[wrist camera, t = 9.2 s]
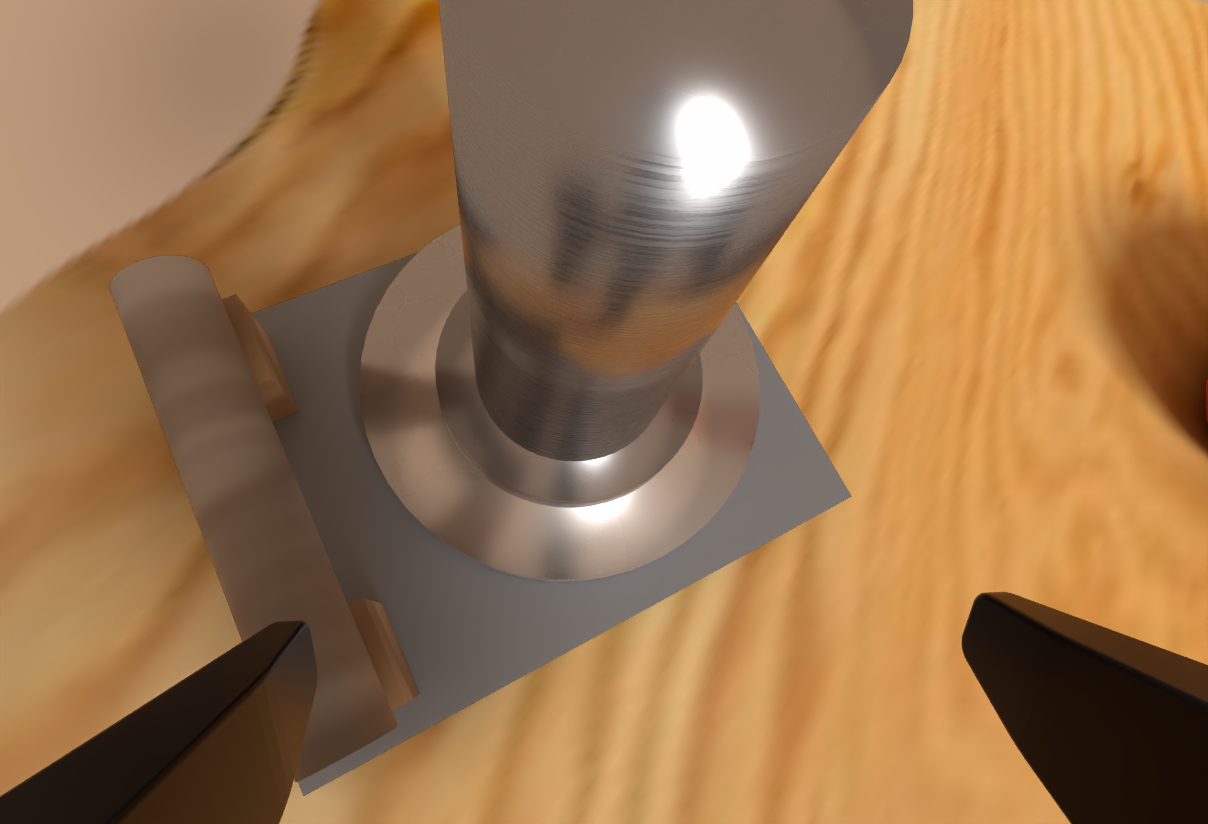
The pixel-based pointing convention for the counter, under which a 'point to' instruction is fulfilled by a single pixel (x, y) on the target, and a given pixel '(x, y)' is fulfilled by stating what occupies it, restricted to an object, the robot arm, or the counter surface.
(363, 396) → the flange disc
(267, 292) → the counter surface
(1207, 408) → the fruit
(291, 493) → the bar handle
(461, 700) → the board
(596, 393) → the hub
